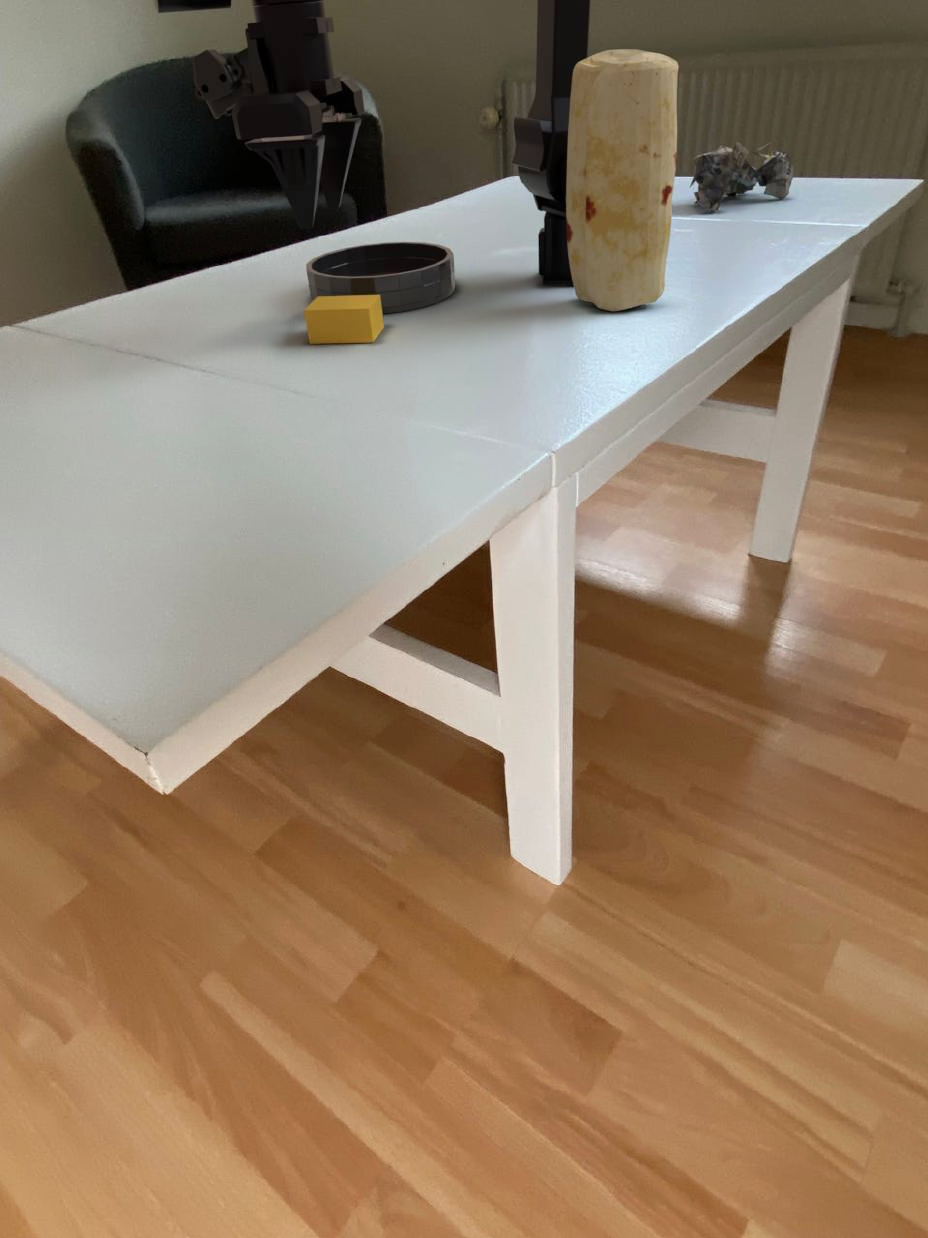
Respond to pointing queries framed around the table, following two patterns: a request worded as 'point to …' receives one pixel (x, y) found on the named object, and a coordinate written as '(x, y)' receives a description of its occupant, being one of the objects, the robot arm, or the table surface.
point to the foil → (738, 175)
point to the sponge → (344, 319)
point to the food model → (621, 176)
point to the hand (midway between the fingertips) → (321, 217)
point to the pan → (386, 274)
